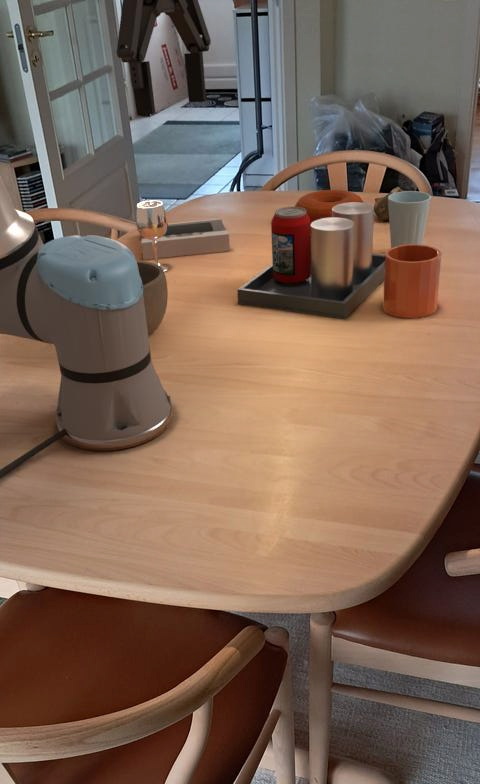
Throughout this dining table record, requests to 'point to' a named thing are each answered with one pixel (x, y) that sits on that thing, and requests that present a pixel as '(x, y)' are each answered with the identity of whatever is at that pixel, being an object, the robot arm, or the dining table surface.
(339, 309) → the tray
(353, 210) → the silver can
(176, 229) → the rectangular box
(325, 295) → the silver can
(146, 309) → the bowl
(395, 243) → the cup
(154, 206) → the wineglass
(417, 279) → the terracotta mug
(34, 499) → the dining table surface
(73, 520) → the dining table surface
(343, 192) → the donut
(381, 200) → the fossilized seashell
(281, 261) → the beverage can
